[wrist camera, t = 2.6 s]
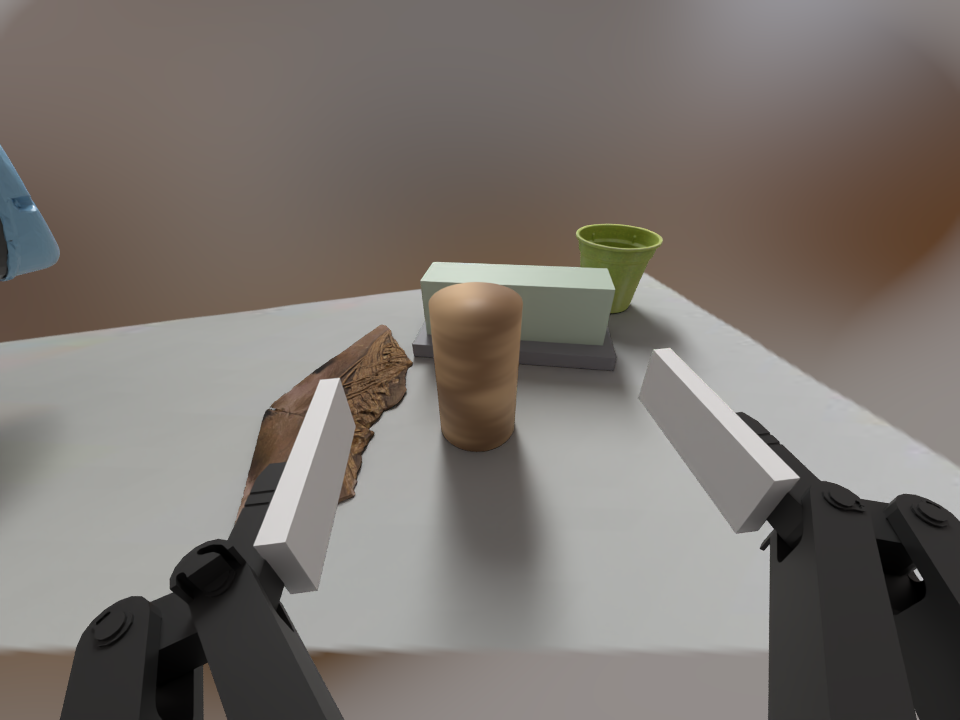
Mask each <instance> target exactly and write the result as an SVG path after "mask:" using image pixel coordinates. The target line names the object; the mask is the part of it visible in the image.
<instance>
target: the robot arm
mask: <svg viewBox="0 0 960 720" xmlns="http://www.w3.org/2000/svg"><path fill="white" fill-rule="evenodd" d="M59 255H60V251H59V248H58V245H57V243H56V241H55V239H54V237H53V235H52V233H51V231H50V230H49V227H48V226H47V224H46V222H45V220H44V219H43V217H42V215H41V214H40V212H39V210H38V208H37V207H36V205H35V204H34V202H33V201H32V200H31V196H30V195H29V193H28V192H27V190H26V188H25V186H24V184H23V182H22V180H21V179H20V177H19V175H18V173H17V171H16V170H15V168H14V166H13V165H12V163H11V161H10V160H9V158H8V156H7V155H6V153H5V151H4V150H3V148H2V146H1V145H0V281H7V280H10V279H13V278H14V277H15V276H17V275H21V274H25V273H29V272H33V271H37V270H41V269H45V268H48V267H50V266H52V265H53V264H55V263H56V262H57V260H58V258H59ZM638 398H639V400H640V401H641V402H642V404H643V405H644V407H645V408H646V409H647V411H648V412H649V413H650V415H651V416H652V418H653V419H654V420H655V422H656V423H657V425H658V426H659V427H660V429H661V430H662V432H663V433H664V434H665V436H666V437H667V438H668V440H669V441H670V443H671V444H672V445H673V447H674V448H675V450H676V451H677V452H678V454H679V455H680V457H681V458H682V459H683V461H684V462H685V463H686V465H687V466H688V468H689V469H690V470H691V472H692V473H693V475H694V476H695V477H696V479H697V480H698V482H699V483H700V484H701V486H702V487H703V488H704V490H705V491H706V493H707V494H708V495H709V497H710V498H711V500H712V501H713V502H714V504H715V505H716V507H717V508H718V509H719V511H720V512H721V514H722V515H723V516H724V518H725V519H726V520H727V522H728V523H729V525H730V526H731V527H732V529H733V530H734V532H735V533H736V534H738V533H745V532H752V531H758V530H759V529H760V528H761V527H762V525H763V524H764V523H765V521H766V520H767V521H768V522H769V523H770V524H771V526H772V527H773V528H774V530H773V531H772V532H771V533H770V534H769V535H768V537H767V538H766V539H765V540H764V541H763V543H762V544H761V547H760V549H761V550H763V551H764V550H765V549H766V548H767V547H768V545H770V606H769V701H768V703H769V704H768V705H769V706H768V720H917V718H916V714H915V711H916V713H917V715H918V717H919V719H920V720H960V521H959V520H958V519H957V518H956V517H955V516H954V515H953V514H952V513H951V512H949V511H948V510H946V509H945V508H943V507H942V506H940V505H939V504H937V503H935V502H933V501H931V500H929V499H926V498H923V497H920V496H917V495H912V494H902V495H899V496H897V497H896V498H895V499H894V500H893V501H891V502H890V503H883V502H877V501H870V500H864V499H860V498H859V497H858V496H857V495H855V494H854V493H852V492H851V491H850V490H848V489H846V488H844V487H842V486H840V485H838V484H835V483H831V482H827V481H820V480H819V479H818V478H817V477H816V476H815V475H814V474H813V473H812V472H810V471H809V470H808V469H807V468H806V467H805V466H804V465H803V464H802V463H801V462H800V461H799V460H798V459H797V458H796V457H795V456H794V455H793V454H792V453H791V452H790V451H788V450H787V449H786V448H785V447H784V446H783V445H782V444H780V442H779V441H778V440H777V439H776V438H775V437H774V436H773V435H770V432H769V431H768V430H767V429H765V428H764V427H763V426H762V425H761V424H760V423H759V422H758V421H757V420H755V419H753V418H752V417H750V416H748V415H747V414H745V413H743V412H738V413H735V412H734V411H733V410H732V409H731V408H730V407H729V406H728V405H727V404H726V403H725V402H724V401H723V400H722V399H721V398H720V397H719V396H718V395H717V394H716V393H715V392H714V391H713V390H712V389H711V388H710V387H709V386H708V385H707V384H706V383H705V382H704V381H703V380H702V379H701V378H700V377H699V376H698V375H697V374H696V373H695V372H694V371H693V370H692V369H691V368H690V367H689V366H688V365H687V364H686V363H685V362H684V361H683V360H682V359H681V358H680V357H679V356H678V355H677V354H676V353H675V352H674V351H673V350H672V349H671V348H664V349H653V351H652V355H651V358H650V361H649V364H648V368H647V371H646V374H645V377H644V381H643V384H642V387H641V390H640V394H639V397H638ZM355 427H356V426H355V423H354V420H353V417H352V414H351V411H350V408H349V405H348V402H347V399H346V396H345V392H344V389H343V386H342V383H341V380H340V378H334V379H323V380H320V381H319V384H318V386H317V389H316V391H315V394H314V396H313V399H312V401H311V404H310V406H309V409H308V411H307V414H306V416H305V419H304V421H303V424H302V426H301V428H300V431H299V433H298V436H297V438H296V441H295V443H294V446H293V448H292V451H291V453H290V456H289V458H288V461H287V462H280V463H271V464H269V465H268V466H267V467H266V468H265V469H264V470H263V471H262V472H261V474H260V475H259V476H258V477H257V478H256V480H255V483H254V485H253V487H252V489H251V491H250V495H248V498H247V500H246V502H245V504H244V508H242V510H241V513H240V515H239V517H238V519H237V521H236V523H235V525H234V528H233V530H232V532H231V534H230V536H229V538H228V540H221V539H216V540H212V541H207V542H205V543H203V544H201V545H199V546H197V547H195V548H194V549H193V550H192V551H190V552H189V553H188V554H187V555H185V556H184V557H183V558H182V560H181V561H180V562H179V563H178V565H177V566H176V567H175V569H174V571H173V573H172V575H171V578H170V590H171V591H173V593H171V594H168V595H166V596H164V597H161V598H159V599H157V600H154V601H152V602H149V601H148V600H146V599H145V598H143V597H142V596H131V597H128V598H126V599H123V600H120V601H118V602H116V603H115V604H113V605H111V606H110V607H108V608H107V609H105V610H104V611H103V612H102V613H101V614H100V615H98V616H97V617H96V618H95V619H94V620H93V621H92V622H91V623H90V625H89V626H88V627H87V629H86V630H85V631H84V633H83V634H82V636H81V638H80V640H79V643H78V645H77V647H76V652H75V656H74V660H73V665H72V669H71V673H70V678H69V682H68V686H67V691H66V695H65V700H64V704H63V709H62V713H61V717H60V720H203V665H204V664H206V663H208V664H209V666H210V670H211V672H212V676H213V679H214V681H215V684H216V687H217V690H218V693H219V696H220V699H221V702H222V705H223V708H224V711H225V713H226V717H227V720H344V718H343V717H342V715H341V713H340V711H339V709H338V707H337V705H336V703H335V702H334V700H333V698H332V696H331V694H330V692H329V690H328V688H327V687H326V685H325V683H324V681H323V679H322V677H321V675H320V674H319V672H318V670H317V668H316V666H315V664H314V663H313V661H312V659H311V657H310V655H309V653H308V651H307V649H306V648H305V646H304V644H303V642H302V640H301V638H300V636H299V634H298V633H297V631H296V629H295V627H294V625H293V623H292V621H291V620H290V618H289V616H288V614H287V612H286V610H285V608H284V607H283V605H282V603H281V602H280V598H281V595H282V591H283V588H284V586H285V587H286V589H287V590H288V591H289V593H290V594H295V593H303V592H310V591H318V587H319V583H320V578H321V574H322V570H323V565H324V561H325V557H326V552H327V548H328V544H329V540H330V535H331V531H332V527H333V522H334V518H335V514H336V509H337V505H338V501H339V496H340V492H341V488H342V483H343V479H344V475H345V470H346V466H347V462H348V457H349V453H350V449H351V444H352V440H353V436H354V432H355ZM916 568H917V569H918V571H919V573H920V574H921V576H922V578H923V581H920V580H919V579H918V578H917V576H916V575H915V573H914V571H913V570H915V569H916Z"/></svg>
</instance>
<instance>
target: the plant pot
mask: <svg viewBox="0 0 960 720" xmlns="http://www.w3.org/2000/svg"><path fill="white" fill-rule="evenodd" d="M576 237H577V239H578V240H579V250H580V252H581V264H580V267H581V268H607V269H608V271H609V274H610V277H611V279H612V282H613V285H614V287H615V293H614V298H613V302H612V307H611V311H610V313H618V312H622V311H624V310H626V309H627V308H628V306H629V305H630V302H631V300H632V298H633V295H634V293H635V291H636V288H637V286H638V284H639V281H640V279H641V277H642V275H643V273H644V270H645V268H646V266H647V264H648V261H649V260H650V259H651V258H652V257H653V255H654V253H655V251H656V248H658V247H660V245H661V244H662V242H663V239H662V237H661V236H659V235H658V234H656V233H654V232H652V231H649V230H647V229H643V228H639V227H634V226H628V225H620V224H596V225H589V226H585V227H582V228H580V229H579V230H578V231H577V232H576Z"/></svg>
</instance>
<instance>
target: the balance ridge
mask: <svg viewBox="0 0 960 720" xmlns="http://www.w3.org/2000/svg"><path fill="white" fill-rule="evenodd" d="M420 282H421V291H422V299H423V307H424V315H425V321H424V323H423V325H422V327H421V329H420V331H419V332H418V334H417V336H416V338H415V340H414V342H413V343H412V346H413V353H414V356H420V357H433V358H434V353H433V343H432V333H431V324H430V314H429V300H430V298H431V297H432V296H433V295H434V294H435V293H436V292H437V291H439V290H441V289H443V288H445V287H448V286H451V285H455V284H460V283H467V282H486V283H494V284H499V285H502V286H505V287H508V288H510V289H512V290H514V291H515V292H517V293H518V294H519V295H520V296H521V298H522V301H523V309H522V323H521V337H520V351H519V364H530V365H543V366H557V367H571V368H585V369H598V370H612V371H613V370H614V366H615V362H616V354H615V351H614V347H613V343H612V340H611V336H610V333H609V329H608V320H609V316H610V311H611V307H612V302H613V298H614V293H615V287H614V285H613V282H612V279H611V277H610V274H609V271H608V269H607V268H581V267H580V268H579V267H554V266H553V267H552V266H527V265H500V264H473V263H447V262H433V263H432V265H431V266H430V268H429V269H428V271H427V272H426V273H425V275H424V276H423V278H422V279H421V281H420Z"/></svg>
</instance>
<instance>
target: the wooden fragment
mask: <svg viewBox="0 0 960 720" xmlns="http://www.w3.org/2000/svg"><path fill="white" fill-rule="evenodd" d="M412 364H413V363H412V361H411V360H410V359H409V358H408V357H407V355H406V354H405V351H404V350H403V349H402V348H400V347H399V345H398V343H397V341H396V340H395V339H394V338H393V337H392V335H391V330H390V329H389V328H388V327H387V326H386V325H380V326H378V327H377V328H376V329H374V330H373V331H371V332H370V333H368V334H367V335H365V336H364V337H363V338H361V339H360V340H358V341H357V342H355V343H354V344H353V345H352V346H350V347H349V348H348V349H346V350H345V351H343V352H342V353H340V354H339V355H337V356H335V357H334V358H332V359H330V360H329V361H328V362H326V363H325V364H324V365H322V366H321V367H319V368H318V369H316V370H315V371H314V372H313V373H311V374H310V375H309V376H307V377H306V378H305V379H304V380H302V381H301V382H300V383H299V384H297V385H296V386H294V387H293V388H292V390H290V392H288V393H287V394H284V395H283V396H282V397H280V398H279V399H278V400H277V401H275V402H274V403H273V404H272V405H271V407H272V408H276V410H275V411H274V410H272V409H271V410H270V408H271V407H270V408H269V409H268V410H267V411H266V412H265V414H264V417H263V420H262V423H261V428H260V432H259V435H258V439H257V445H256V447H255V452H254V455H253V459H252V463H251V467H250V470H249V473H248V478H247V482H246V487H245V490H244V496H243V498H242V501H241V506H240V507H239V511H238V514H237V519H238V517H239V515H240V513H241V510H242V508H244V504H245V502H246V500H247V498H248V495H250V491H251V489H252V487H253V485H254V483H255V480H256V478H257V477H258V476H259V475H260V474H261V472H262V471H263V470H264V469H265V468H266V467H267V466H268V465H269V464H271V463H280V462H287V461H288V458H289V456H290V453H291V451H292V448H293V446H294V443H295V441H296V438H297V436H298V433H299V431H300V428H301V426H302V424H303V421H304V419H305V416H306V414H307V411H308V409H309V406H310V404H311V401H312V399H313V396H314V394H315V391H316V389H317V386H318V384H319V381H320V380H323V379H334V378H340V380H341V383H342V386H343V389H344V392H345V396H346V399H347V402H348V405H349V408H350V411H351V414H352V417H353V420H354V423H355V426H356V427H355V432H354V436H353V440H352V444H351V449H350V453H349V457H348V462H347V466H346V470H345V475H344V479H343V483H342V488H341V492H340V496H339V501H338V503H339V502H341V501H344V500H346V499H349V498H351V497H353V496H354V495H355V492H354V488H355V485H356V483H357V480H356V479H357V472H358V470H359V468H360V466H361V463H362V461H361V460H362V456H361V454H362V451H363V450H364V447H366V446H367V444H368V442H369V440H370V439H371V437H372V436H373V435H374V433H375V432H373V431H370V430H369V428H370V427H371V426H372V425H373V423H375V422H376V421H377V420H378V418H379V417H380V415H381V414H382V413H383V411H385V410H388V409H390V408H392V407H393V406H394V405H396V404H397V403H398V402H399V401H400V400H401V399H402V397H403V396H404V394H405V392H406V390H407V389H406V387H405V383H406V380H405V377H406V376H405V374H406V372H407V369H408V368H409V367H410V366H412ZM236 521H237V520H236ZM236 521H235V523H236Z"/></svg>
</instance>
